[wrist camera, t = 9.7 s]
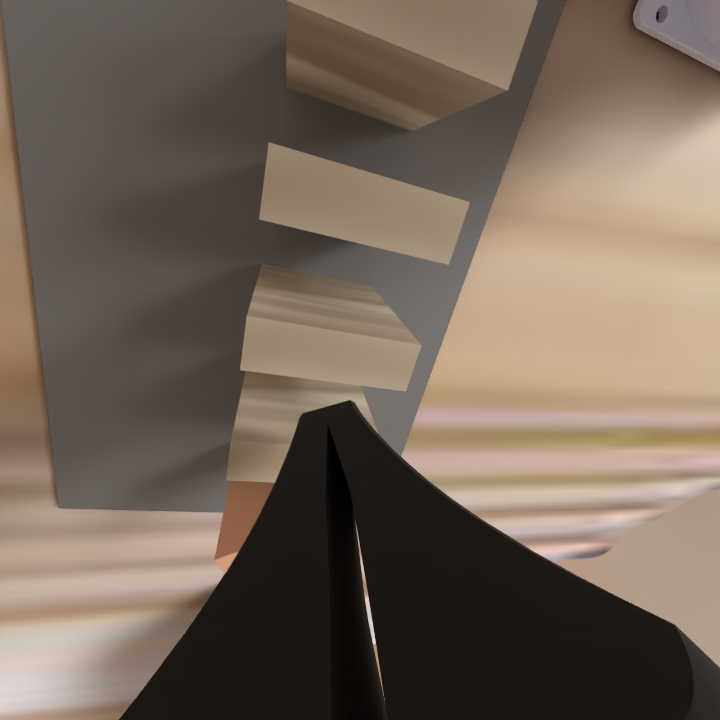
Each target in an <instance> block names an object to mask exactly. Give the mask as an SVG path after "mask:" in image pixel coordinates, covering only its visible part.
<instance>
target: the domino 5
mask: <svg viewBox="0 0 720 720" xmlns="http://www.w3.org/2000/svg"><path fill="white" fill-rule="evenodd" d="M273 485H274V483H271V482H251V481H229V486H228V491H227V497H226V502H225V507H224V513H223V518H222V523H221V529H220V534H219V539H218V545H217V550H216V555H215V561H216V562H217V564H218V565H219V566H220V567H221V569H222V570H223V571H224V572H225V573H226V571H227V570H228V568H229V567H230V565H231V563H232V562H233V560H234V558H235V557H236V555H237V553H238V552H239V550H240V548H241V547H242V545H243V543H244V542H245V540H246V538H247V536H248V534H249V533H250V531H251V529H252V527H253V525H254V524H255V522H256V520H257V518H258V516H259V514H260V512H261V510H262V508H263V506H264V504H265V502H266V500H267V498H268V496H269V494H270V492H271V490H272V488H273ZM357 539H358V536H357Z"/></svg>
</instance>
